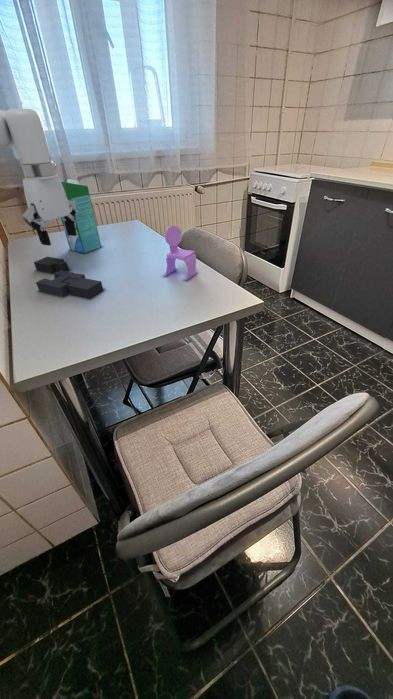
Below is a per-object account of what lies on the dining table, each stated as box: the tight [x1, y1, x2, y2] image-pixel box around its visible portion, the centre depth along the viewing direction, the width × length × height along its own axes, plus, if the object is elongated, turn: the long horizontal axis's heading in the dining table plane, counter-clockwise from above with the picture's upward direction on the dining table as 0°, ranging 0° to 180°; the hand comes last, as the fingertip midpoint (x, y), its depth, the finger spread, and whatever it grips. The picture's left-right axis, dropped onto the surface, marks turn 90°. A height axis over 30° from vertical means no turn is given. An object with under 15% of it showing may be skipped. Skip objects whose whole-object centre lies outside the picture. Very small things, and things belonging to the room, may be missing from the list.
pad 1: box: [33, 256, 70, 274], centre depth 103 cm, size 11×6×3 cm, turn 65°
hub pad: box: [35, 270, 86, 298], centre depth 91 cm, size 10×10×3 cm
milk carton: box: [60, 179, 102, 254], centre depth 114 cm, size 9×9×25 cm
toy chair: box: [164, 225, 197, 281], centre depth 92 cm, size 8×9×15 cm
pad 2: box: [63, 277, 104, 300], centre depth 88 cm, size 11×6×3 cm, turn 65°
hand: (60, 239), depth 85 cm, fingers open, 9 cm apart
